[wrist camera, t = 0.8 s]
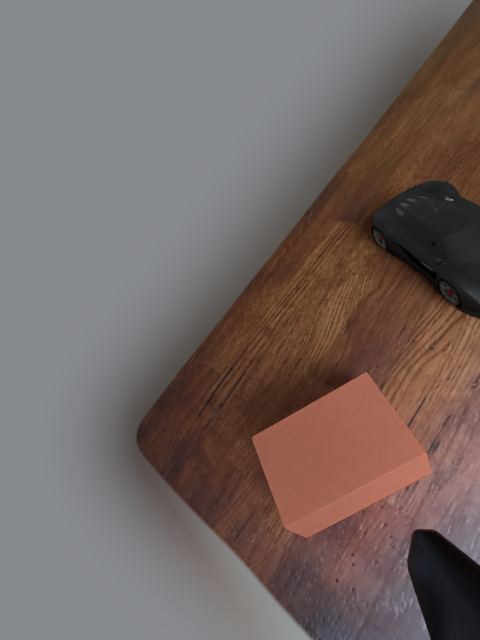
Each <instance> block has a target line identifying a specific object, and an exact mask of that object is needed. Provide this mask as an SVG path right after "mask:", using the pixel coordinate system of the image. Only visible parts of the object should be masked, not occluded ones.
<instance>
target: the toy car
mask: <svg viewBox="0 0 480 640" xmlns="http://www.w3.org/2000/svg"><path fill="white" fill-rule="evenodd" d="M371 231H372V233H373V236H374V238H375V240H376V242H377V243H378V244H379V246H380V247H381V248H383V249H388V250H387V251H388V252H390V253H391V254H393V255H394V256H396V257H398V258H399V259H401V260H403V261H404V262H406V263H407V264H409V265H411V266H412V267H413V268H415V269H416V270H417V271H419V272H420V273H421V274H422V275H424V276H425V277H426V278H428V279H429V280H430V281H431V282H432V283H433V284H435V285H436V287H437V289H438V291H439V293H440V292H441V293H442V295H443V296H444V297H445V298H446V299H447V300H448V301H449V302H450V303H451V304H453V305H459V304H461V303H462V305H461V308H460V310H462V311H464V312H466V313H468V314H470V315H472V316H474V317H477V318H480V206H478V205H476V204H474V203H472V202H471V201H469V200H467V199H465V198H463V197H461V196H460V195H459V193H458V191H457V190H456V189H455V187H454V186H453V185H451V184H450V183H448V182H444V181H428V182H425V183H422V184H419V185H417V186H415V187H412V188H410V189H408V190H406V191H405V192H403V193H401V194H399V195H398V196H396V197H395V198H393V199H392V200H390V201H389V202H387V203H386V204H385V205H383V206H382V207H381V208H380V209H379V210H378V211H377V212H376V213H375V214H374V215H373V217H372V225H371Z"/></svg>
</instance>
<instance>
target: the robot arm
mask: <svg viewBox="0 0 480 640" xmlns="http://www.w3.org/2000/svg"><path fill="white" fill-rule="evenodd" d="M407 563H408V570H409V574H410V577H411V580H412V583H413V586H414V589H415V593H416V596H417V599H418V602H419V605H420V608H421V611H422V614H423V617H424V620H425V623H426V626H427V629H428V632H429V635H430V638H431V640H480V565H479V564H477V563H476V562H475V561H474V560H472V559H471V558H470V557H469V556H467V555H466V554H465V553H464V552H462V551H461V550H460V549H459V548H457V547H456V546H455V545H454V544H452V543H451V542H450V541H449V540H447V539H446V538H445V537H444V536H442V535H441V534H440V533H438V532H437V531H435V530H431V529H416V530H415V531H414V532H413V534H412V538H411V543H410V549H409V554H408V561H407Z"/></svg>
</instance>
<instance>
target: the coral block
mask: <svg viewBox="0 0 480 640" xmlns="http://www.w3.org/2000/svg"><path fill="white" fill-rule="evenodd" d="M252 441H253V443H254V446H255V449H256V452H257V454H258V457H259V460H260V463H261V465H262V468H263V471H264V473H265V476H266V479H267V482H268V484H269V487H270V490H271V493H272V495H273V498H274V501H275V503H276V506H277V509H278V512H279V514H280V517H281V520H282V522H283V525H284V528H286V529H288V530H290V531H292V532H294V533H296V534H298V535H300V536H303V537H305V538H308V537H310V536H312V535H314V534H316V533H318V532H320V531H322V530H324V529H326V528H327V527H329V526H331V525H333V524H335V523H337V522H339V521H341V520H343V519H345V518H347V517H349V516H350V515H352V514H354V513H356V512H358V511H360V510H362V509H364V508H366V507H368V506H370V505H371V504H373V503H375V502H377V501H379V500H381V499H383V498H385V497H387V496H389V495H391V494H393V493H394V492H396V491H398V490H400V489H402V488H404V487H406V486H408V485H410V484H412V483H414V482H415V481H417V480H419V479H421V478H423V477H425V476H427V475H429V474H431V473H432V472H431V469H430V465H429V461H428V457H427V453H426V451H425V450H424V448H423V447H422V446H421V444H420V443H419V442H418V440H417V439H416V438H415V436H414V435H413V434H412V432H411V431H410V430H409V428H408V427H407V426H406V424H405V423H404V422H403V420H402V419H401V418H400V416H399V415H398V414H397V412H396V411H395V410H394V408H393V407H392V406H391V404H390V403H389V402H388V400H387V399H386V398H385V396H384V395H383V393H382V392H381V391H380V389H379V388H378V387H377V385H376V384H375V383H374V381H373V380H372V379H371V377H370V376H369V375H368V373H367V372H365V373H363V374H362V375H360V376H358V377H356V378H355V379H353V380H351V381H349V382H348V383H346V384H344V385H342V386H341V387H339V388H337V389H335V390H334V391H332V392H330V393H328V394H327V395H325V396H323V397H321V398H320V399H318V400H316V401H314V402H313V403H311V404H309V405H307V406H306V407H304V408H302V409H300V410H299V411H297V412H295V413H293V414H292V415H290V416H288V417H286V418H285V419H283V420H281V421H279V422H277V423H276V424H274V425H272V426H270V427H269V428H267V429H265V430H263V431H262V432H260V433H258V434H256V435H255V436H253V437H252Z"/></svg>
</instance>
